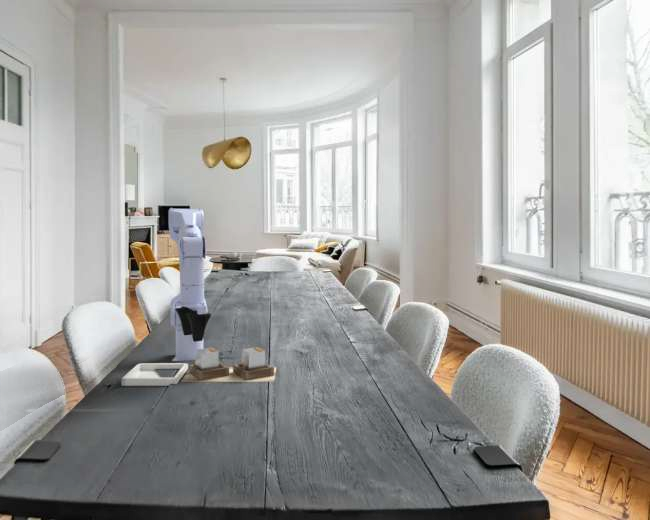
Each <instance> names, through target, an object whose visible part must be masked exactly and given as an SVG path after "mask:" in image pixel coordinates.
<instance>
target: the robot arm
mask: <svg viewBox="0 0 650 520" xmlns="http://www.w3.org/2000/svg"><path fill="white" fill-rule="evenodd" d="M204 222H205V215H204V210H203V209H202V208H173V207H170V208H169V209H168V233H169V234H168V235H169V236H170V237H169V239H170V240H172V241H174V242H176V246H177V248H178V258H179V259H178V262H179V263H178V264H179V265H178V267H179V290H180V291H179V293H178V294H177V295H175V296H174V297H173V298H172V299H171V301H170V326H171V327H172V328H175V356H174V358H172V360H171V362H185V361H187V362H188V361H193V360H194V361H195V350H197V349H204V335H205V331H206V327H207V324H208V322H209V320H210V318H211V316H212V313H211V312H208V306H207V299H206V298H205V260H206V258H207V241H206V237H205V235H203V233H204V226H205V224H204Z"/></svg>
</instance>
